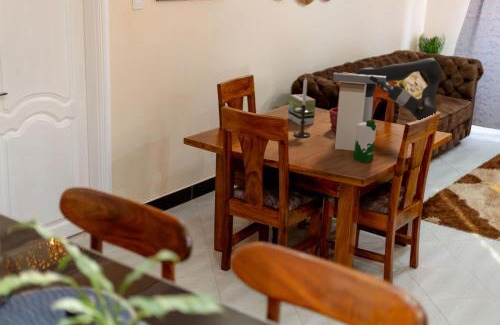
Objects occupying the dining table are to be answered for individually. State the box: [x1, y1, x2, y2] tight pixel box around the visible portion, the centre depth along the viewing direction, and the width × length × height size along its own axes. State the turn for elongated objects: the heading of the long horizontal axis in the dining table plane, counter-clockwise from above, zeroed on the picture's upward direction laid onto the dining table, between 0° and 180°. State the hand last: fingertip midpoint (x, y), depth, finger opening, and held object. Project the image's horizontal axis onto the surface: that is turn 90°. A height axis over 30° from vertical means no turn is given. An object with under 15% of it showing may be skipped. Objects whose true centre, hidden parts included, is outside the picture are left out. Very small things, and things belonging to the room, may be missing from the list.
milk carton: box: [353, 119, 378, 164], centre depth 332 cm, size 9×9×20 cm
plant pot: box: [329, 107, 338, 132], centre depth 383 cm, size 13×13×12 cm
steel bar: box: [332, 72, 386, 84], centre depth 343 cm, size 26×4×4 cm, turn 78°
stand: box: [334, 81, 366, 151], centre depth 355 cm, size 12×24×34 cm, turn 168°
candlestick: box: [293, 72, 314, 139], centre depth 366 cm, size 11×11×35 cm
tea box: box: [287, 93, 316, 126], centre depth 398 cm, size 15×10×15 cm
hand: (370, 76), depth 341 cm, fingers closed on steel bar, 3 cm apart
